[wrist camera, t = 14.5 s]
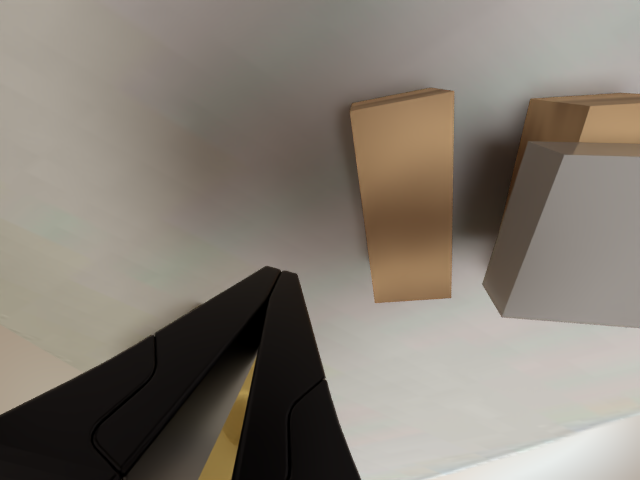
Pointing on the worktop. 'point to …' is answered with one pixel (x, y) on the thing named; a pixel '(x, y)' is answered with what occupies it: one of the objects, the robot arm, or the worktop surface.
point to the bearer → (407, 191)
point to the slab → (571, 236)
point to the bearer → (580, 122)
